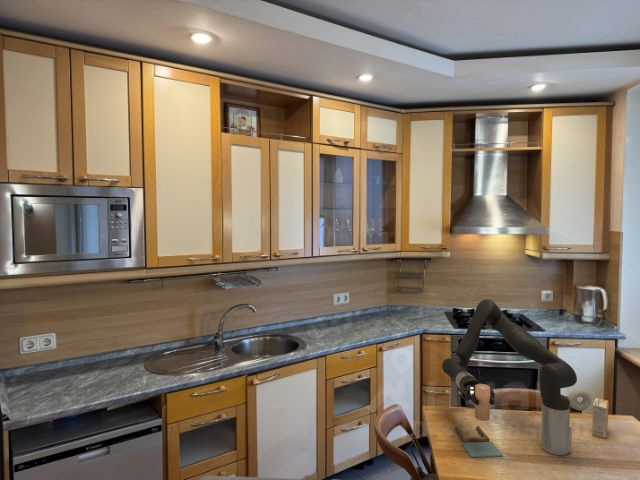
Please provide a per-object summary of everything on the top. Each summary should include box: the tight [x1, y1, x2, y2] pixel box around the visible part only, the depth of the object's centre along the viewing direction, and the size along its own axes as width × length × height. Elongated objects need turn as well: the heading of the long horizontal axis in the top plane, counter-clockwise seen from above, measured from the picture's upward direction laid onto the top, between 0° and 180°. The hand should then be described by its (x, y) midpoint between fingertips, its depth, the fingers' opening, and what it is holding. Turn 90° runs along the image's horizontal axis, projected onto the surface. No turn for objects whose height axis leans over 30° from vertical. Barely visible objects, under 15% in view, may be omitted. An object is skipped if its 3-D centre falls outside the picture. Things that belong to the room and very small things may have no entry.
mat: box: [461, 441, 504, 459], centre depth 159 cm, size 12×9×1 cm
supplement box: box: [591, 397, 609, 440], centre depth 171 cm, size 8×5×13 cm, turn 141°
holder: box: [453, 425, 490, 443], centre depth 170 cm, size 10×10×2 cm
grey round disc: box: [567, 388, 592, 411], centre depth 191 cm, size 10×4×10 cm, turn 89°
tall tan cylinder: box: [474, 383, 491, 422], centre depth 159 cm, size 5×5×12 cm
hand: (485, 402), depth 156 cm, fingers closed on tall tan cylinder, 5 cm apart
